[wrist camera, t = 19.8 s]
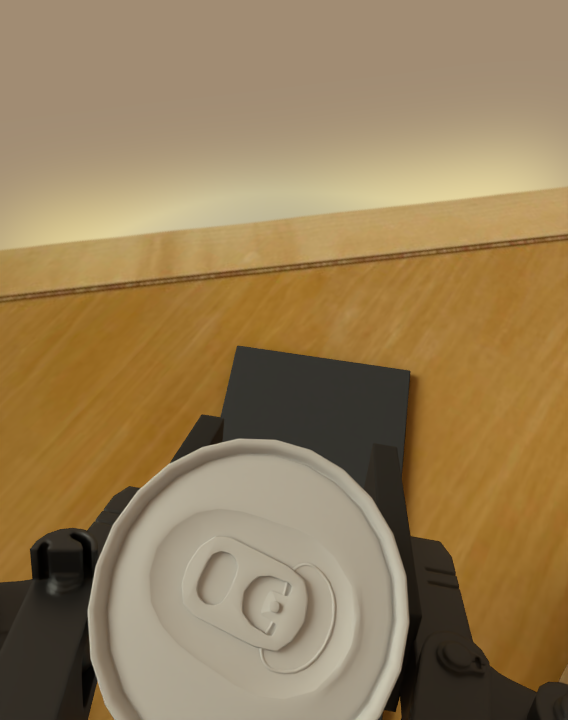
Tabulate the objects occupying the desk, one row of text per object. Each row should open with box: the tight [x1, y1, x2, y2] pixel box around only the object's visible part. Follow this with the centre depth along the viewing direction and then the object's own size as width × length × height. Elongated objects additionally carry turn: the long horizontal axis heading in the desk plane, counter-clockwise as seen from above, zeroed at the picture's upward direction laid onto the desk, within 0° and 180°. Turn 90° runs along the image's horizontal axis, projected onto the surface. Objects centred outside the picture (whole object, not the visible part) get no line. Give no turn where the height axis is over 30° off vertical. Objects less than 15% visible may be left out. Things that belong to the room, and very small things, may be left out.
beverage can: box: [88, 439, 409, 720], centre depth 13 cm, size 5×5×12 cm
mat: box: [221, 346, 410, 720], centre depth 30 cm, size 22×12×1 cm, turn 170°
